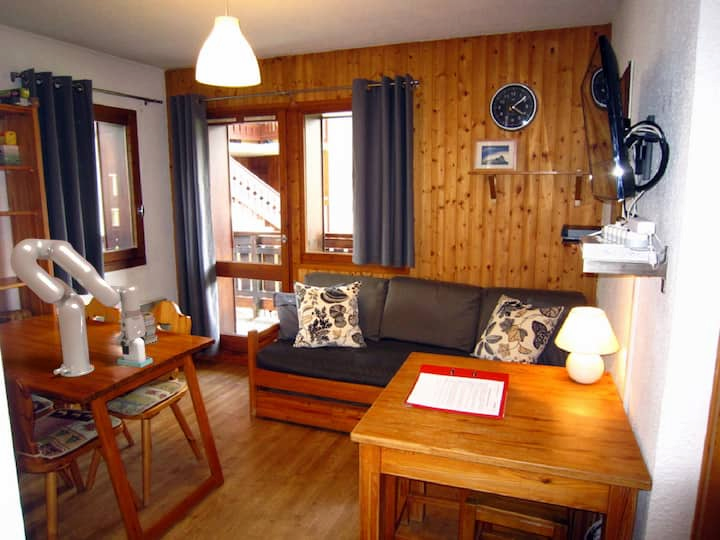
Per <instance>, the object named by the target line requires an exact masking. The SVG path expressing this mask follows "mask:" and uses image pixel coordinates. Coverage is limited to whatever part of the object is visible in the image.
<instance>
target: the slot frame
mask: <svg viewBox="0 0 720 540" xmlns="http://www.w3.org/2000/svg"><path fill="white" fill-rule="evenodd" d="M145 357H146V361H143V362H141V363H139V362H132V361H125V360H124V356H123V357H122V358H119V359H117V365H120V364H121V366H127V365H128V367H134V368H135V367H136V368H139V369H140V368H143V367H145V366H148V365H151V364H152V363H153V358H152V357H148V356H145Z"/></svg>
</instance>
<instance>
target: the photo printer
mask: <svg viewBox="0 0 720 540" xmlns="http://www.w3.org/2000/svg"><path fill="white" fill-rule="evenodd" d="M125 342H126V341H125ZM127 346H129V354H128V355H126V354H123V353H122V356H123V357H124V360H125V361H132V362H139V363H141V362H143V361H146V357H147V356H146V345H145V346H144V341H143V340H142V339H141V338H138V339H135V340H132V341H129V343H128V345H127Z"/></svg>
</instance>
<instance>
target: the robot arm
mask: <svg viewBox="0 0 720 540" xmlns="http://www.w3.org/2000/svg"><path fill="white" fill-rule="evenodd" d="M9 259H10V261H9V262H10V267H11V270H12V271H13V273H14V274H15V275H16V277H18V279H20V280H21V281H22V282H23V283H24V284H25V285H26V286H27V287H28V288H29V289H30V290H31V291H32V292H33V293H35V294H36V296H37V297H39V298H40V299H41V300H42V301H43V302H45V303H47V304H53V306H54V307H56V308H57V318H58V324H59V333H60V339H61V340H60V341H61V350H62V359H63V363H62V364H61V366H60V368H57V369H54V370H53V374H54V375H58V374H60V375H61V376H62V377H70V378H71V377H80V376H83V375H87V374H89V373H92V372H94V370H95V366H94V365H92V364H90V355H89V344H88V335H87V324H86V311H85V310H86V308H85V307H86V304H85V302H84V300H83V298H82V297H81V296H80V295H78V293H76V292H75V291H74V290H73V289H72V288H71V287H70V286H69V285H68V284H67V283H66V282H65V281H64V280H62V279H60V278H59V277H54V276H51V275H50V274H49V273H48V272H47V271H46V270H45V269H44V268H42V267H41V266H40V265H39V263H37V260H50V261H51V260H52V261H53V262H54V263H55V264H57V265H58V266H59V267H60V268H61V269H62V270H63V271H65V272H66V273H67V274H68V275H70V276H71V277H72V278H73V279H74V280H75V281H77V283H78V284H79V285H80V286H81V287H83V289H85V290H86V291H87V292H88V293H89V294H90V296H92V297H93V298H95V299H96V300H97V301H98V302H99V303H101V304H102V305H103V306H105V307H108V308H113V307H116V306H118V305H119V303H120V307H121V308H120V309H121V313H120V316H121V318H120V319H121V324H120V333H119V335H117V337H116V340H117V342H118V344H119V345H120V346H121V349H122V350H121V351H122V355H123V354H126V355H128V354H129V346H127V345H128V343H129V341H132V340H135V339H138V338H141V339H142V340H143V341H144V346H145V347H146V345H145V339H146V335H147V331H148V328H147V327H145V325H144V320H143V316H142V315H141V313H142V312H141V311H142V310H141V300H140V289H139V286H137V285H136V284H135V285H134V284H126V285H123V286H122V285H110V284H108V282H106V281H105V280H104V278H102V277H101V275H100V274H99V272H97V270H96V268H95V267H94V266H93V265H92V264H91V263H90V262H89V261H87V260H86V259H85V258H84V257H83V256H82V255H81V254H79V253H78V252H77V251H76V249H74V248H73V246H72V244H71V243H70V242H68V241H67V240H62V239H61V240H60V239H59V240H58V239H40V238H25V239H23V240H21V241H20V242H19V243H17V244H16V245H15V246H14V248H13V250H12V252H11V254H10V258H9ZM125 341H126V342H125Z"/></svg>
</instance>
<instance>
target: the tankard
mask: <svg viewBox="0 0 720 540" xmlns="http://www.w3.org/2000/svg"><path fill="white" fill-rule="evenodd" d="M141 315H142V316H143V320H144V325H145V327H147V328H148V331H147V335H146V339H145V344H148V345H150V344H149V343H151V344H153V343H152V342H154V343H156V342H158V339H159V338H158V335H155V334H156V326H155V322H156V320H155V319H156V318H155V317H154V313H153V312H149V311H148V312H147V311H145V312H144V311H143V312H141ZM121 319H122V318H120V319H119V320H118V322H117V323H118V324H119V325H121ZM157 338H158V339H157ZM155 341H156V342H155Z"/></svg>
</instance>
